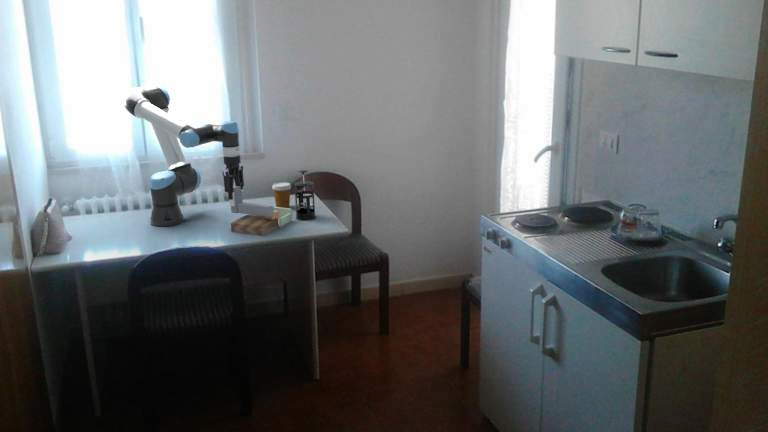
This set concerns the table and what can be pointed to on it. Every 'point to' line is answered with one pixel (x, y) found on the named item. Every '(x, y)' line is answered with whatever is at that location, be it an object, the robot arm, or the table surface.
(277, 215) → the tile
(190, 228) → the table surface
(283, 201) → the disposable coffee cup
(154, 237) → the table surface
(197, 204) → the table surface
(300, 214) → the french press
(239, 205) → the scraper
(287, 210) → the tray
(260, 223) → the brown wooden board
